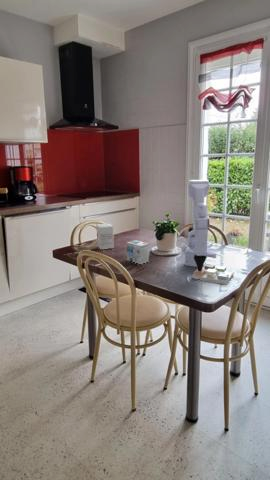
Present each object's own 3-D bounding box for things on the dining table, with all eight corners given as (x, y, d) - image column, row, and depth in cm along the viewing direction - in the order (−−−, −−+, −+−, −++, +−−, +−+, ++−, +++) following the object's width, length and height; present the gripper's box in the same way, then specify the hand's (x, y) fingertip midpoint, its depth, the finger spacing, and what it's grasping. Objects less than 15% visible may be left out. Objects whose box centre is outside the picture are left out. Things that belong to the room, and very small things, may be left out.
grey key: (204, 269, 158) (204, 266, 158) (206, 266, 161) (207, 263, 161) (212, 270, 156) (212, 267, 156) (214, 268, 160) (215, 265, 159)
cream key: (205, 274, 152) (205, 271, 151) (208, 271, 155) (208, 268, 155) (214, 275, 150) (214, 272, 149) (216, 272, 153) (216, 269, 153)
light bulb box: (126, 261, 181) (126, 242, 178) (135, 258, 185) (135, 239, 183) (140, 265, 173) (140, 245, 171) (149, 262, 178) (149, 243, 175)
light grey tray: (192, 278, 154) (192, 275, 154) (201, 269, 165) (201, 267, 165) (226, 284, 146) (226, 281, 146) (233, 275, 157) (233, 272, 157)
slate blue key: (217, 278, 149) (217, 275, 149) (219, 275, 153) (219, 272, 152) (226, 280, 147) (226, 276, 147) (228, 277, 151) (228, 274, 150)
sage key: (215, 271, 155) (215, 268, 155) (217, 268, 159) (218, 265, 158) (223, 272, 153) (223, 269, 153) (226, 269, 157) (226, 266, 156)
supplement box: (97, 247, 208) (95, 224, 205) (110, 245, 211) (109, 223, 207) (99, 251, 200) (98, 227, 196) (114, 249, 203) (113, 225, 199)
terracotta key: (194, 274, 155) (194, 271, 154) (197, 271, 158) (197, 268, 158) (202, 275, 153) (202, 272, 152) (205, 273, 156) (205, 270, 156)
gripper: (183, 242, 152) (182, 270, 155) (213, 246, 145) (212, 275, 148) (188, 239, 158) (187, 266, 161) (218, 243, 151) (216, 270, 154)
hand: (199, 270), depth 155 cm, fingers closed
